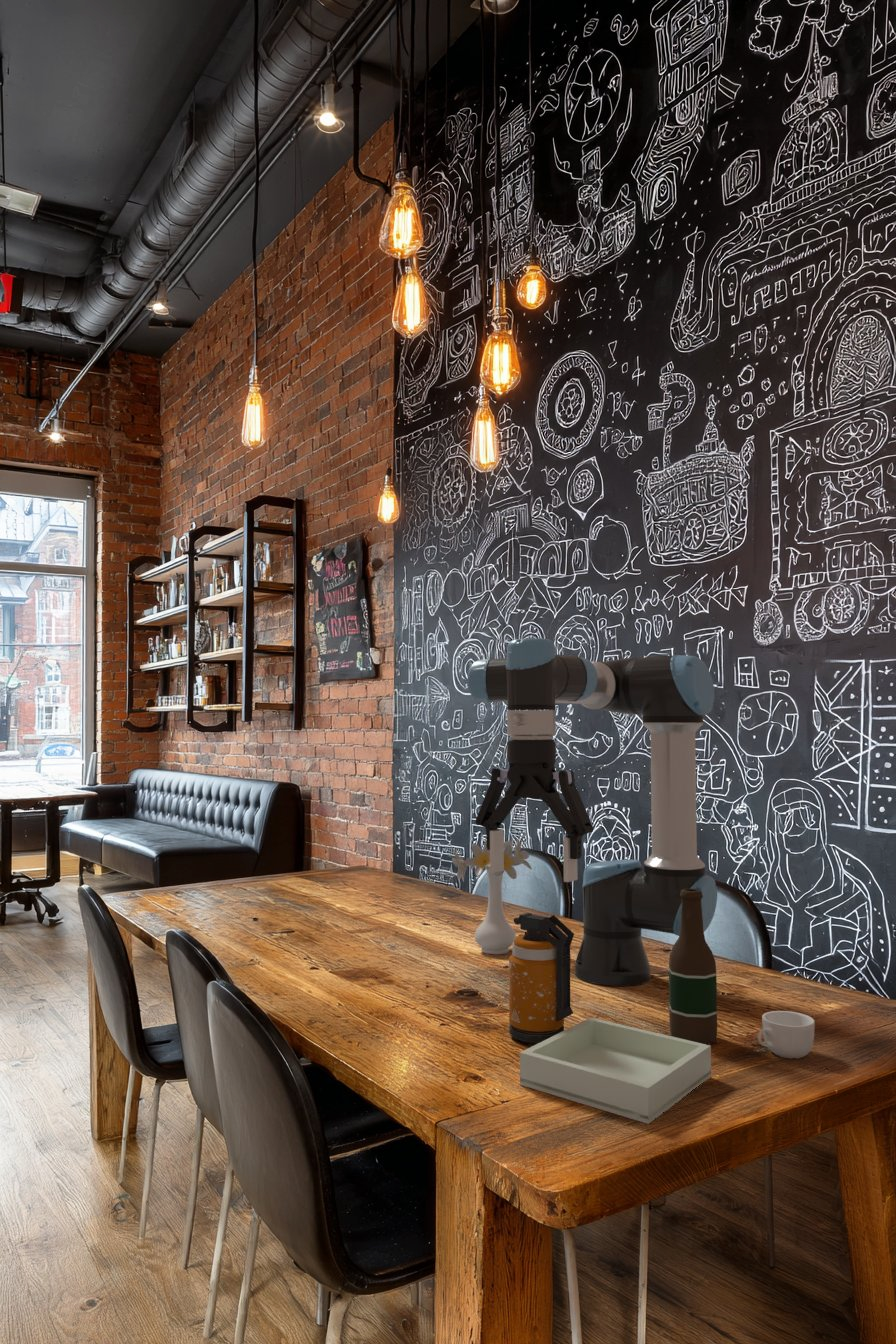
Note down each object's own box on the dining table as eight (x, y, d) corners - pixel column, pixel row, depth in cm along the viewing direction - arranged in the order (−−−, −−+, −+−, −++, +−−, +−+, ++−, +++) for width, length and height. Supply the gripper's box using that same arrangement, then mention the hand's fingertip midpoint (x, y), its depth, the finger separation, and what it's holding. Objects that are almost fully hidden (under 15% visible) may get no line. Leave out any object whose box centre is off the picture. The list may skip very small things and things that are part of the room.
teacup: (789, 1042, 148) (788, 1008, 148) (826, 1058, 141) (826, 1022, 141) (741, 1051, 144) (740, 1016, 144) (776, 1068, 137) (776, 1031, 137)
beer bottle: (684, 1048, 145) (682, 895, 146) (659, 1032, 152) (658, 886, 153) (727, 1043, 147) (725, 892, 148) (701, 1028, 154) (699, 884, 156)
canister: (529, 1024, 156) (529, 905, 157) (585, 1038, 149) (584, 914, 150) (498, 1038, 149) (498, 914, 150) (555, 1054, 142) (555, 924, 143)
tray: (591, 1046, 146) (590, 1017, 146) (711, 1077, 133) (710, 1045, 133) (519, 1084, 130) (519, 1052, 130) (648, 1123, 117) (648, 1088, 118)
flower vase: (443, 950, 206) (444, 838, 208) (514, 941, 214) (514, 834, 216) (470, 963, 195) (470, 845, 196) (543, 954, 203) (543, 841, 204)
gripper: (453, 737, 147) (454, 870, 146) (589, 739, 131) (591, 888, 130) (481, 736, 153) (482, 864, 152) (614, 738, 137) (616, 881, 136)
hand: (532, 876), depth 141 cm, fingers open, 13 cm apart
